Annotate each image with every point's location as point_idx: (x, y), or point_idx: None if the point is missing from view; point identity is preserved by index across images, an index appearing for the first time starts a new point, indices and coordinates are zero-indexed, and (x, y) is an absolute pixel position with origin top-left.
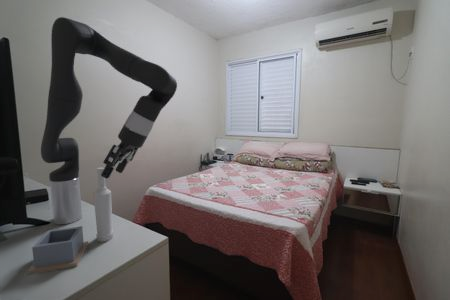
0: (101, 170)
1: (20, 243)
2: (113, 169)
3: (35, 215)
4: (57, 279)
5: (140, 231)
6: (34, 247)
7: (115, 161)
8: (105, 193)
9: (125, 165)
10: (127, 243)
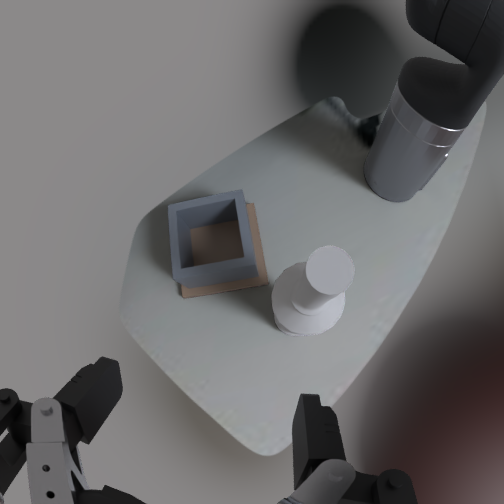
0: (308, 285)
1: (285, 142)
2: (91, 435)
3: None
4: (154, 280)
5: None
6: (168, 209)
7: (21, 463)
8: (284, 322)
9: (295, 477)
10: (259, 383)
